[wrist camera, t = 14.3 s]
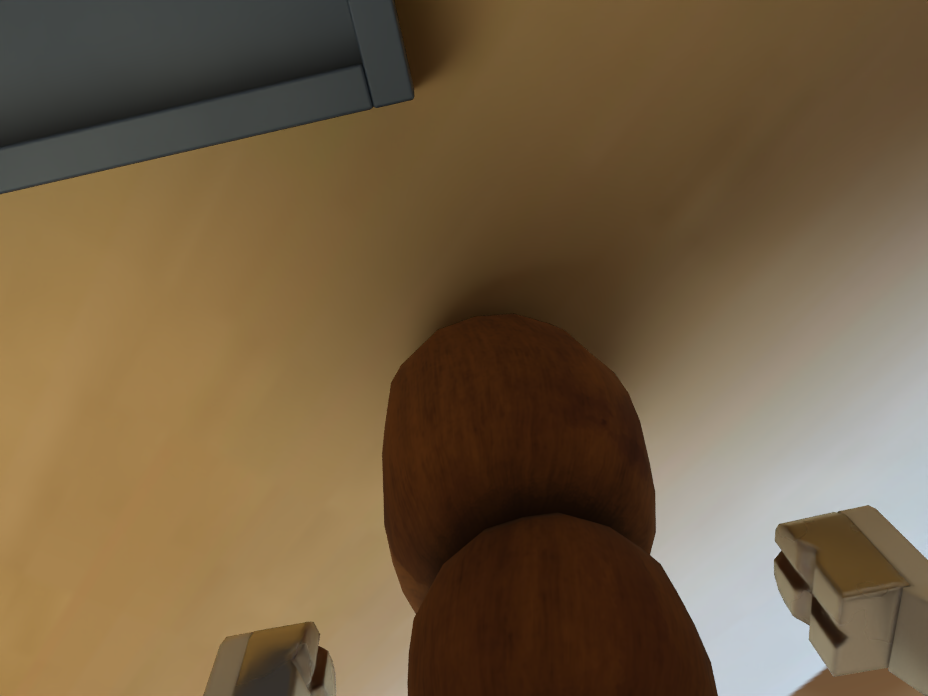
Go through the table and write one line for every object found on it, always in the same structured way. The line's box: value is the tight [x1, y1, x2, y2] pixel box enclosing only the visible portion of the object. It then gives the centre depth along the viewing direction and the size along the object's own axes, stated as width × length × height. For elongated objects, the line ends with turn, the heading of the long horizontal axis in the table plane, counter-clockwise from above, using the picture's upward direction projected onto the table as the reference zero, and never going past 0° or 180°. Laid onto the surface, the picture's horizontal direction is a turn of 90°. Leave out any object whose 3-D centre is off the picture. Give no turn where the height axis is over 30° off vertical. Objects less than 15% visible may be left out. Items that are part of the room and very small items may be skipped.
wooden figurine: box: [382, 314, 718, 696], centre depth 11 cm, size 7×6×15 cm
